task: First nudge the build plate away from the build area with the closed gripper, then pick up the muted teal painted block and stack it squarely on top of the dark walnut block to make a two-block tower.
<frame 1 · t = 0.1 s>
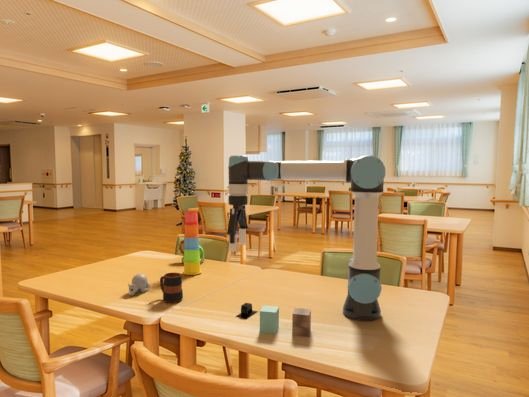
hand: (237, 247, 159), 28 cm above the table, fingers open, 13 cm apart
stacking cups: (192, 273, 223), on the table
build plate: (246, 315, 163), on the table
teal block: (269, 329, 148), on the table
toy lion: (191, 262, 248), on the table
mug: (170, 299, 180), on the table
walnut block: (301, 332, 146), on the table
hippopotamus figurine: (137, 293, 189), on the table
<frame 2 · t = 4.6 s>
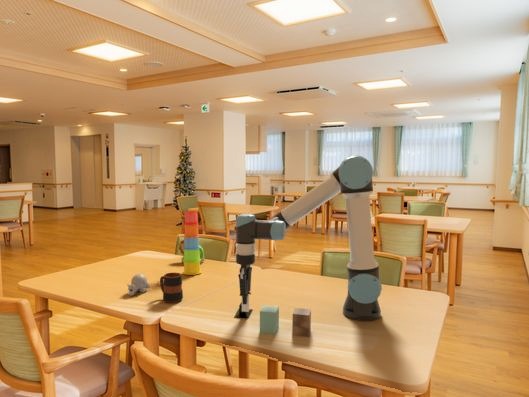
hand: (245, 310, 160), 2 cm above the table, fingers closed
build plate: (243, 315, 164), on the table, touching gripper
everything else where it was.
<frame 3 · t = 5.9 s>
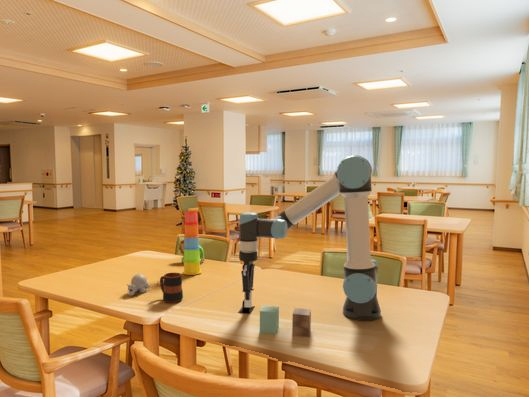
hand: (248, 306, 165), 2 cm above the table, fingers closed
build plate: (246, 311, 168), on the table
everything else where it was.
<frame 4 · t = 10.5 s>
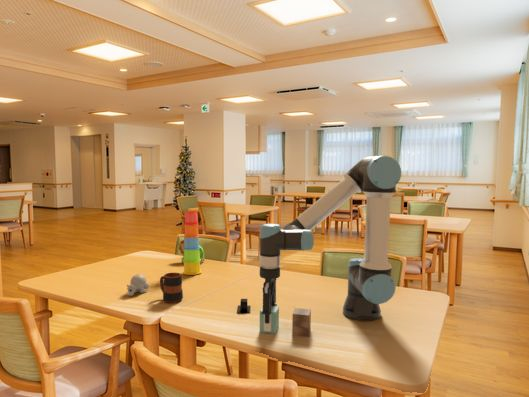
hand: (269, 327, 148), 1 cm above the table, fingers closed on teal block, 6 cm apart
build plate: (243, 311, 169), on the table
teal block: (269, 329, 148), on the table, touching gripper
everything else where it was.
when the fingers open (10 cm above the table, at t = 15.1 s): teal block drops 1 cm, resting on walnut block.
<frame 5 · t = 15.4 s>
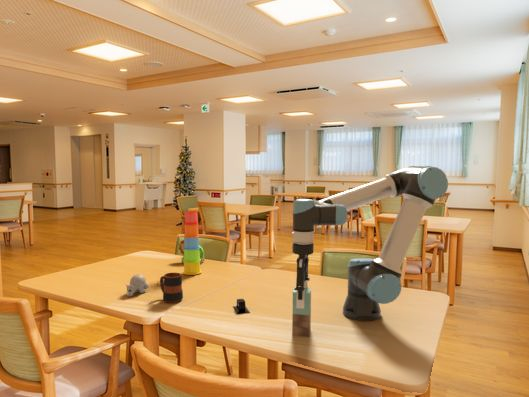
hand: (302, 302, 145), 11 cm above the table, fingers open, 10 cm apart
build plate: (240, 311, 168), on the table
teal block: (301, 311, 145), point 8 cm above the table, touching walnut block
walnut block: (301, 332, 146), on the table, touching teal block
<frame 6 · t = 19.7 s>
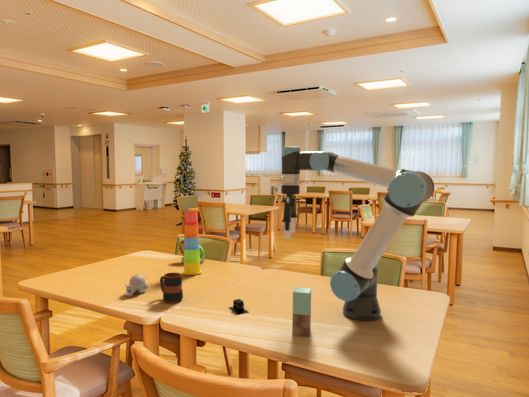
hand: (289, 235, 166), 32 cm above the table, fingers open, 13 cm apart
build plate: (238, 311, 168), on the table
at the end: teal block 0.0 cm off-centre on the walnut block, point 8.0 cm above the walnut block's base; teal block tilted 0°; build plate moved 6.0 cm from its start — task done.
